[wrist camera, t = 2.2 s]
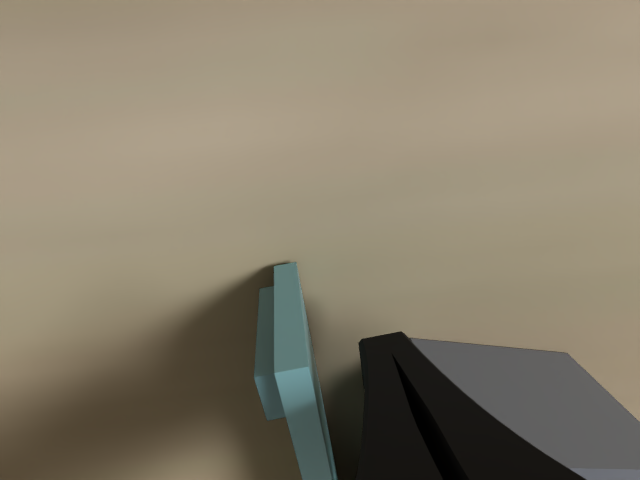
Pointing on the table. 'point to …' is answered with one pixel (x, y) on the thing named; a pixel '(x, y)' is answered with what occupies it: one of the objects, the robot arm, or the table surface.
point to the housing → (546, 404)
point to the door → (292, 373)
